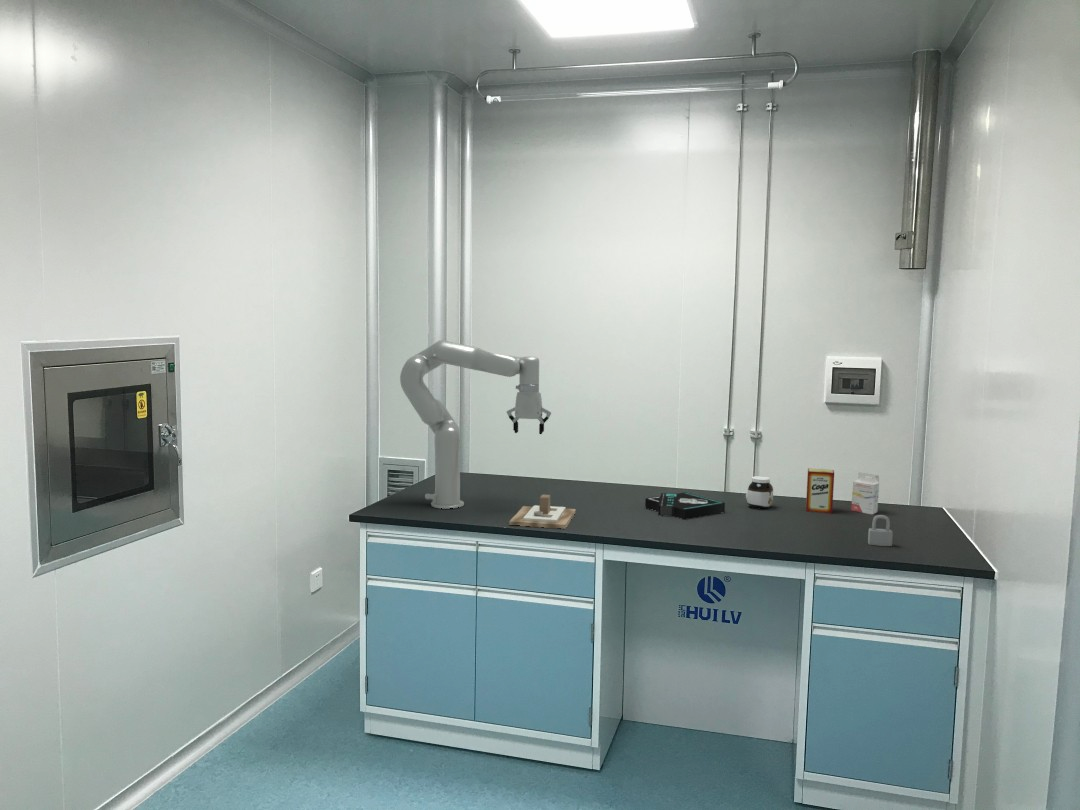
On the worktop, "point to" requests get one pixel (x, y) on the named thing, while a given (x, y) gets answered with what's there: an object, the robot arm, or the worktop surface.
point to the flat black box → (684, 505)
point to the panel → (545, 517)
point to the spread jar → (760, 492)
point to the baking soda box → (820, 490)
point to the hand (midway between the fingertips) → (528, 433)
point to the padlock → (880, 533)
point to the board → (524, 510)
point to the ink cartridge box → (865, 493)
